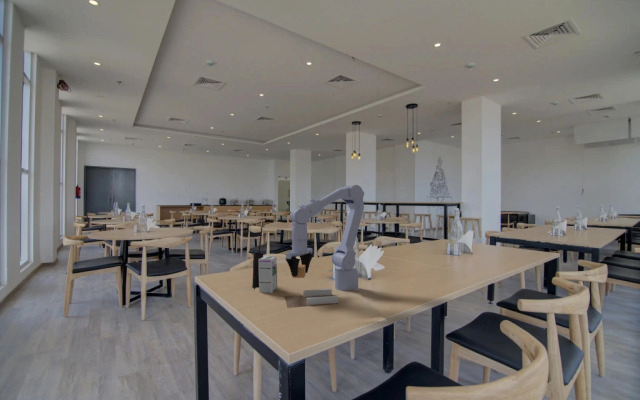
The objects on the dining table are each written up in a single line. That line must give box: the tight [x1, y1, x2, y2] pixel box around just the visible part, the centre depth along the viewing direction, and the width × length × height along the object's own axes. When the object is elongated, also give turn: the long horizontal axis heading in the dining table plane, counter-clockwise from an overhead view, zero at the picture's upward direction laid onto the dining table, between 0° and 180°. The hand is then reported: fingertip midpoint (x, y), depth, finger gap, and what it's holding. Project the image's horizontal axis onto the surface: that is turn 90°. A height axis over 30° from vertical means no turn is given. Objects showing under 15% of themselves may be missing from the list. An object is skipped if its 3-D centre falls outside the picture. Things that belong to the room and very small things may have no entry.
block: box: [292, 264, 307, 279], centre depth 116 cm, size 4×4×4 cm
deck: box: [284, 294, 339, 309], centre depth 109 cm, size 18×12×1 cm, turn 101°
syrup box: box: [258, 255, 278, 294], centre depth 121 cm, size 6×6×14 cm
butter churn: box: [251, 222, 264, 289], centre depth 129 cm, size 9×10×28 cm
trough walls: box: [302, 288, 339, 305], centre depth 110 cm, size 11×10×2 cm
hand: (299, 274), depth 115 cm, fingers closed on block, 6 cm apart
